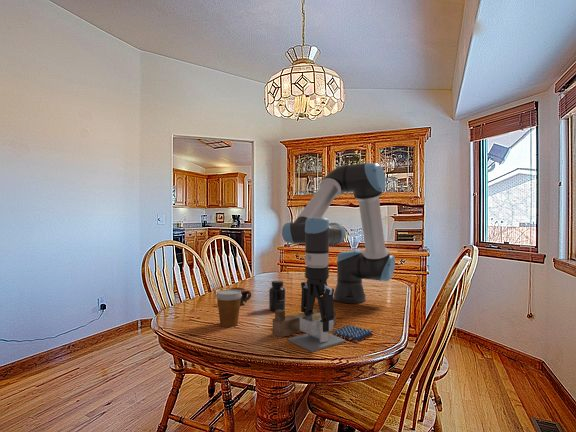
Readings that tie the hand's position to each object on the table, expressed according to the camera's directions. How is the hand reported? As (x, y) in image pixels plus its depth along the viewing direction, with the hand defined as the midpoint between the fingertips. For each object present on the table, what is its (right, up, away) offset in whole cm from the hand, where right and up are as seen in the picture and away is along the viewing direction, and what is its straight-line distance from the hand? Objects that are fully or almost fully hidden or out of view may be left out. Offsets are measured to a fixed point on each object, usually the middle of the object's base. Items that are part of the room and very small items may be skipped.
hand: (316, 338), depth 114 cm
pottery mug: (-31, -1, +49) cm, 58 cm away
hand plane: (-3, -1, +13) cm, 13 cm away
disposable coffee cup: (-31, -1, +17) cm, 35 cm away
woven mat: (+12, -2, +6) cm, 14 cm away
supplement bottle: (-14, -1, +38) cm, 41 cm away
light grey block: (0, +3, 0) cm, 3 cm away
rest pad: (0, -1, 0) cm, 1 cm away
